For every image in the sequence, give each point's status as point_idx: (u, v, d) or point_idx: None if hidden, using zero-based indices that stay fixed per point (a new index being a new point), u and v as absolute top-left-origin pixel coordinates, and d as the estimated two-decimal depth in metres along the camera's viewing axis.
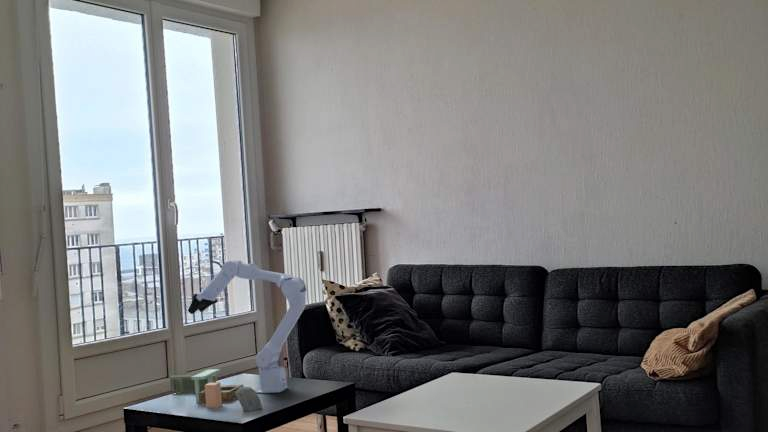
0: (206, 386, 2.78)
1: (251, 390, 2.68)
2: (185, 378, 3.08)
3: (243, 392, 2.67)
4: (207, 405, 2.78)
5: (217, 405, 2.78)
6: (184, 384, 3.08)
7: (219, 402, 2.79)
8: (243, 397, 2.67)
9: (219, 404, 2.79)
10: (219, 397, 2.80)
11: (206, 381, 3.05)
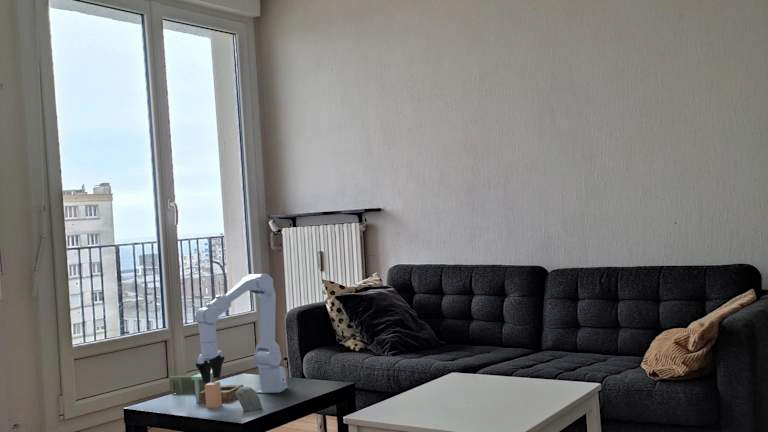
0: (206, 386, 2.78)
1: (251, 390, 2.68)
2: (184, 378, 3.07)
3: (243, 392, 2.67)
4: (207, 405, 2.78)
5: (217, 405, 2.78)
6: (183, 384, 3.07)
7: (219, 402, 2.79)
8: (243, 397, 2.67)
9: (219, 404, 2.79)
10: (219, 397, 2.80)
11: None
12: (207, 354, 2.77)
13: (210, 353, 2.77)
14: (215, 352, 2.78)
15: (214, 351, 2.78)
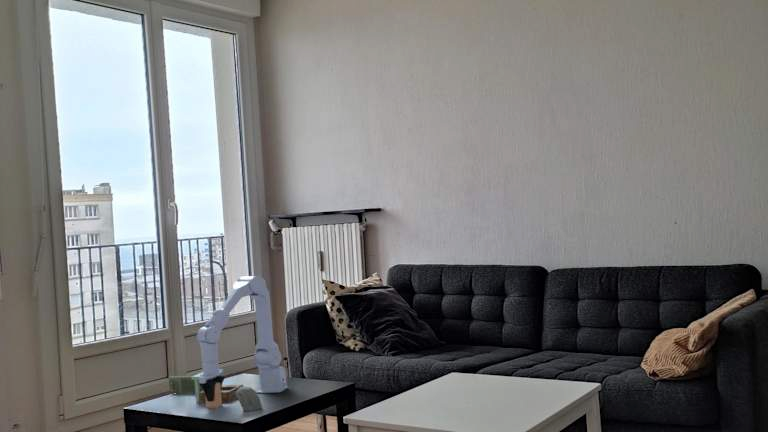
0: None
1: (251, 390, 2.68)
2: (184, 379, 3.07)
3: (243, 392, 2.67)
4: (207, 405, 2.78)
5: (217, 405, 2.78)
6: (183, 384, 3.07)
7: (219, 402, 2.79)
8: (243, 397, 2.67)
9: (219, 404, 2.79)
10: (219, 397, 2.80)
11: None
12: (209, 374, 2.77)
13: (212, 373, 2.77)
14: (217, 371, 2.78)
15: (216, 370, 2.78)
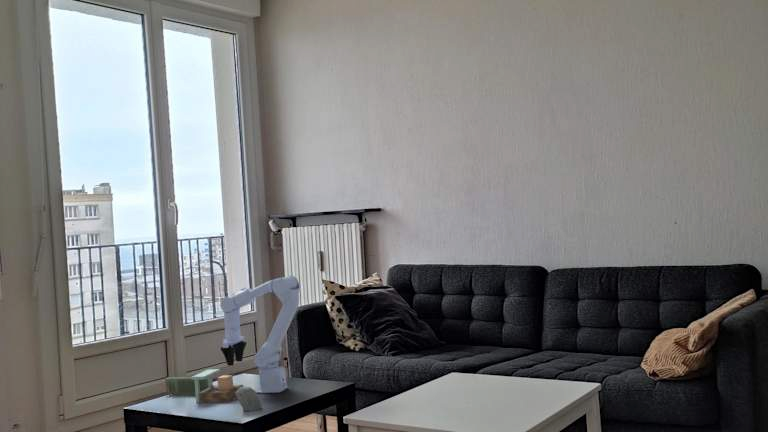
0: (219, 378, 2.90)
1: (251, 390, 2.68)
2: (180, 380, 3.05)
3: (243, 392, 2.67)
4: None
5: None
6: (179, 386, 3.05)
7: None
8: (243, 397, 2.67)
9: None
10: None
11: (201, 383, 3.02)
12: (231, 339, 3.01)
13: (234, 338, 3.01)
14: (238, 337, 3.02)
15: (237, 336, 3.02)
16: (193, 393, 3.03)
